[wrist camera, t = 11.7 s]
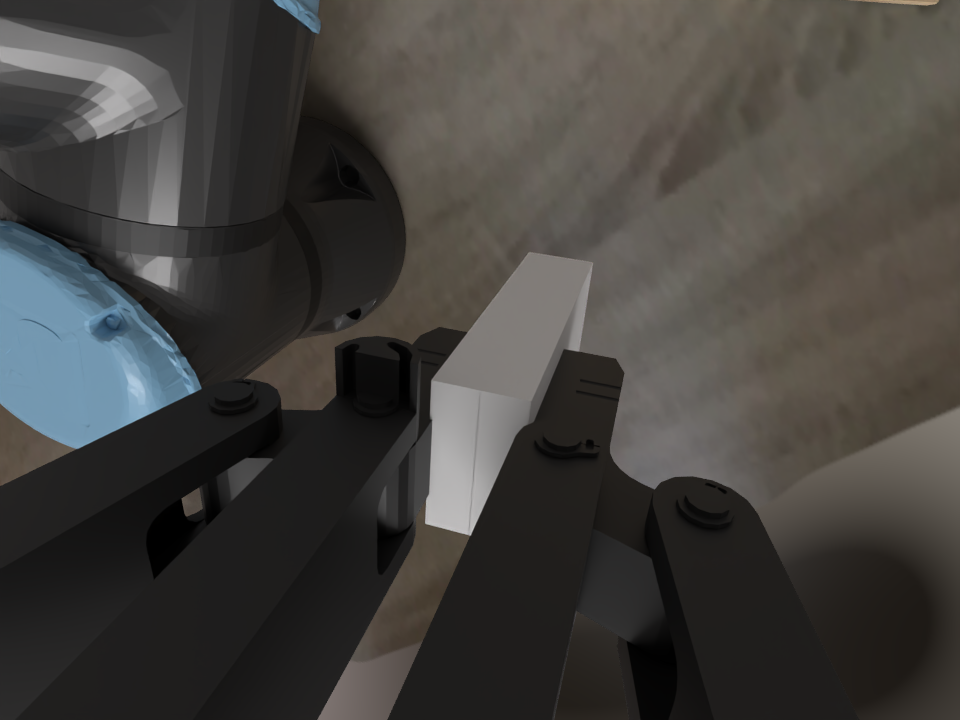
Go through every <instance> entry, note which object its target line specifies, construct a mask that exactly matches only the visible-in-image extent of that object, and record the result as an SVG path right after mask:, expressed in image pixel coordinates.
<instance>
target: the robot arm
mask: <svg viewBox="0 0 960 720" xmlns="http://www.w3.org/2000/svg"><path fill="white" fill-rule="evenodd" d="M318 8H319V0H0V404H1V405H2V406H4V407H5V408H6V409H7V410H9V411H10V412H11V413H12V414H14V415H15V416H16V417H18V418H19V419H20V420H22V421H23V422H25V423H26V424H27V425H29V426H30V427H32V428H34V429H35V430H37V431H39V432H40V433H42V434H44V435H46V436H48V437H50V438H52V439H54V440H56V441H58V442H60V443H63V444H65V445H68V446H70V447H73V448H76V450H74V451H72V452H70V453H68V454H66V455H64V456H62V457H60V458H58V459H56V460H54V461H52V462H50V463H47V464H45V465H43V466H41V467H39V468H37V469H35V470H33V471H31V472H29V473H27V474H25V475H23V476H21V477H19V478H17V479H14V480H12V481H10V482H8V483H6V484H4V485H2V486H0V720H317V719H318V717H319V715H320V714H321V712H322V710H323V708H324V706H325V705H326V703H327V701H328V699H329V697H330V696H331V694H332V692H333V690H334V688H335V686H336V685H337V683H338V681H339V679H340V677H341V675H342V673H343V672H344V670H345V668H346V666H347V664H348V663H349V661H350V659H351V657H352V655H353V654H354V652H355V650H356V648H357V646H358V644H359V643H360V641H361V639H362V637H363V635H364V633H365V632H366V630H367V628H368V626H369V624H370V623H371V621H372V619H373V617H374V615H375V613H376V612H377V610H378V608H379V606H380V604H381V602H382V601H383V599H384V597H385V595H386V593H387V591H388V590H389V588H390V586H391V584H392V582H393V581H394V579H395V577H396V575H397V573H398V571H399V570H400V568H401V566H402V564H403V562H404V560H405V559H406V557H407V555H408V553H409V551H410V549H411V548H412V546H413V542H414V538H415V533H416V516H417V514H418V512H419V511H420V509H421V507H422V505H423V504H424V502H425V500H426V521H425V524H429V525H432V526H436V527H440V528H444V529H448V530H451V531H455V532H459V533H463V534H467V535H470V538H469V540H468V542H467V545H466V547H465V549H464V551H463V553H462V556H461V558H460V560H459V562H458V565H457V567H456V569H455V571H454V573H453V576H452V578H451V580H450V582H449V585H448V587H447V589H446V591H445V593H444V596H443V598H442V600H441V602H440V604H439V607H438V609H437V611H436V613H435V616H434V618H433V620H432V622H431V624H430V627H429V629H428V631H427V633H426V636H425V638H424V640H423V642H422V644H421V647H420V649H419V651H418V654H417V656H416V658H415V660H414V662H413V664H412V667H411V669H410V671H409V673H408V675H407V678H406V680H405V682H404V684H403V687H402V689H401V691H400V693H399V695H398V698H397V700H396V702H395V704H394V706H393V709H392V711H391V713H390V715H389V718H388V720H554V716H555V711H556V706H557V702H558V697H559V692H560V687H561V682H562V678H563V673H564V668H565V663H566V658H567V653H568V649H569V644H570V639H571V634H572V629H573V626H574V621H575V615H576V611H578V612H579V613H581V614H583V615H585V616H586V617H588V618H590V619H591V620H593V621H595V622H596V623H598V624H600V625H601V626H603V627H605V628H606V629H608V630H610V631H611V632H613V633H615V634H616V635H618V644H617V647H618V653H619V660H620V666H621V671H622V678H623V684H624V691H625V696H626V703H627V709H628V715H629V720H859V719H858V717H857V715H856V712H855V710H854V708H853V706H852V704H851V702H850V700H849V698H848V696H847V694H846V692H845V690H844V688H843V686H842V684H841V682H840V680H839V678H838V676H837V674H836V672H835V670H834V668H833V666H832V664H831V662H830V660H829V658H828V656H827V653H826V651H825V649H824V647H823V645H822V643H821V641H820V639H819V637H818V635H817V633H816V631H815V629H814V627H813V625H812V623H811V621H810V619H809V617H808V615H807V613H806V611H805V609H804V607H803V605H802V603H801V601H800V599H799V597H798V595H797V593H796V591H795V589H794V587H793V584H792V582H791V581H790V578H789V576H788V575H787V572H786V570H785V568H784V566H783V564H782V562H781V560H780V558H779V556H778V554H777V552H776V550H775V548H774V546H773V544H772V542H771V540H770V538H769V536H768V534H767V532H766V530H765V528H764V526H763V524H762V522H761V520H760V518H759V515H758V514H757V513H756V511H755V510H754V508H753V507H752V506H751V504H750V503H749V502H748V501H747V500H746V499H745V498H744V497H742V496H741V495H739V494H738V493H737V492H735V491H734V490H732V489H731V488H729V487H726V486H724V485H722V484H719V483H717V482H715V481H712V480H707V479H703V478H698V477H693V476H692V477H674V478H671V479H668V480H666V481H663V482H661V483H660V484H659V485H658V486H657V488H656V489H655V490H654V489H652V488H650V487H648V486H645V485H643V484H641V483H640V482H638V481H636V480H634V479H632V478H630V477H629V476H628V475H627V474H625V473H624V472H623V471H622V470H620V468H619V467H618V466H617V465H616V464H615V462H614V461H613V459H612V457H611V454H610V442H611V438H612V432H613V427H614V422H615V417H616V412H617V407H618V402H619V397H620V392H621V387H622V382H623V377H624V372H623V370H622V368H621V367H620V365H619V363H618V362H617V360H616V359H614V358H609V357H604V356H598V355H593V354H588V353H583V352H579V348H580V342H581V336H582V329H583V323H584V317H585V311H586V304H587V298H588V292H589V285H590V279H591V273H592V267H593V262H588V261H582V260H576V259H570V258H563V257H557V256H551V255H544V254H538V253H532V252H529V253H528V254H527V256H526V257H525V258H524V260H523V261H522V262H521V263H520V265H519V266H518V267H517V269H516V270H515V271H514V273H513V274H512V275H511V277H510V278H509V279H508V280H507V282H506V283H505V284H504V286H503V287H502V288H501V290H500V291H499V292H498V294H497V295H496V296H495V297H494V299H493V300H492V301H491V303H490V304H489V305H488V307H487V308H486V309H485V311H484V312H483V313H482V314H481V316H480V317H479V318H478V320H477V321H476V322H475V324H474V325H473V326H472V328H471V329H470V330H469V331H468V332H463V331H457V330H452V329H447V328H442V327H439V328H437V329H434V330H432V331H430V332H427V333H425V334H423V335H421V336H420V337H419V338H418V339H417V340H416V341H415V342H414V343H413V344H412V345H411V344H410V343H408V342H405V341H402V340H399V339H395V338H389V337H380V336H374V337H360V338H356V339H353V340H349V341H345V342H344V343H342V344H340V345H338V346H337V347H335V366H336V393H337V395H336V396H335V397H334V398H333V399H332V400H331V401H330V402H329V403H328V404H327V405H326V406H325V407H324V408H323V409H322V410H282V409H281V398H280V395H279V393H278V390H277V389H275V388H274V387H272V386H271V385H269V384H268V383H264V382H260V381H256V380H250V379H245V380H243V379H244V378H246V377H247V376H248V375H250V374H251V373H252V372H253V371H255V370H256V369H257V368H259V367H260V366H261V365H263V364H264V363H265V362H266V361H268V360H269V359H270V358H272V357H273V356H274V355H276V354H277V353H278V352H280V351H281V350H282V349H283V348H285V347H286V346H287V345H288V344H290V343H291V342H292V341H294V340H295V339H301V338H307V337H312V336H318V335H324V334H329V333H334V332H338V331H341V330H344V329H346V328H349V327H351V326H353V325H355V324H356V323H358V322H360V321H361V320H363V319H364V318H365V317H366V316H368V315H369V314H370V313H371V312H372V311H374V310H375V309H376V308H377V307H378V306H379V305H380V304H381V303H382V302H384V300H385V299H386V298H387V297H388V295H389V294H390V293H391V291H392V290H393V288H394V286H395V284H396V282H397V280H398V278H399V275H400V272H401V269H402V266H403V261H404V254H405V227H404V220H403V216H402V211H401V208H400V204H399V201H398V199H397V196H396V193H395V191H394V189H393V187H392V185H391V183H390V181H389V179H388V177H387V176H386V174H385V172H384V171H383V169H382V168H381V167H380V165H379V164H378V162H377V161H376V160H375V159H374V157H373V156H372V155H371V154H370V153H369V152H368V151H367V150H366V149H365V148H364V147H363V146H362V145H361V144H360V143H359V142H357V141H356V140H355V139H354V138H352V137H351V136H350V135H348V134H347V133H345V132H344V131H342V130H340V129H339V128H337V127H335V126H333V125H331V124H328V123H326V122H323V121H320V120H317V119H314V118H310V117H304V116H300V112H301V107H302V102H303V96H304V91H305V86H306V81H307V75H308V70H309V65H310V59H311V54H312V49H313V43H314V38H315V33H317V34H319V31H320V28H321V21H320V20H319V18H318ZM197 488H199V489H200V495H201V501H202V507H203V509H202V510H200V511H199V512H197V513H195V514H192V515H190V516H187V517H186V516H185V514H184V510H183V505H182V499H181V498H183V497H184V496H186V495H187V494H189V493H191V492H192V491H194V490H195V489H197Z"/></svg>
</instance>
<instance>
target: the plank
mask: <svg viewBox="0 0 960 720" xmlns="http://www.w3.org/2000/svg"><path fill="white" fill-rule="evenodd" d="M851 1H867V2H882V3H898V4H914V5H932V4H936V3H938V1H939V0H851Z"/></svg>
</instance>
